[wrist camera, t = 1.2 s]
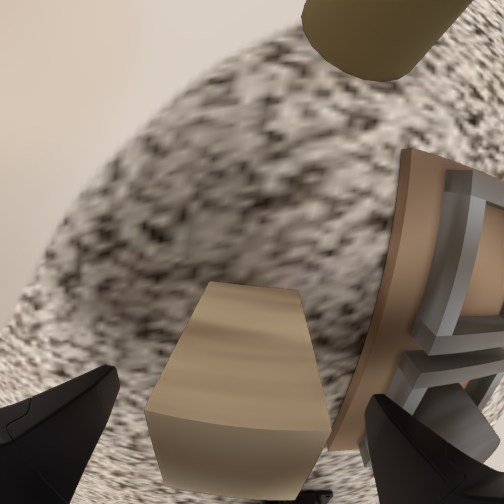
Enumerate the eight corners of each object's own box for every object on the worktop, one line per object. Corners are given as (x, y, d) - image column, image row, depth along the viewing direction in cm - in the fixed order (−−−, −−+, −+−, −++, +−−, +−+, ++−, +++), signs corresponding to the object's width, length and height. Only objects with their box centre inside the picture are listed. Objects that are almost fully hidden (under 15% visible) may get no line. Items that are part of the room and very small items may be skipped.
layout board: (456, 420, 15) (488, 476, 8) (326, 440, 15) (340, 525, 8) (536, 200, 10) (610, 220, 4) (401, 149, 11) (514, 136, 4)
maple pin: (285, 360, 14) (294, 500, 6) (207, 352, 14) (165, 485, 6) (297, 290, 13) (332, 430, 5) (209, 281, 13) (143, 409, 5)
